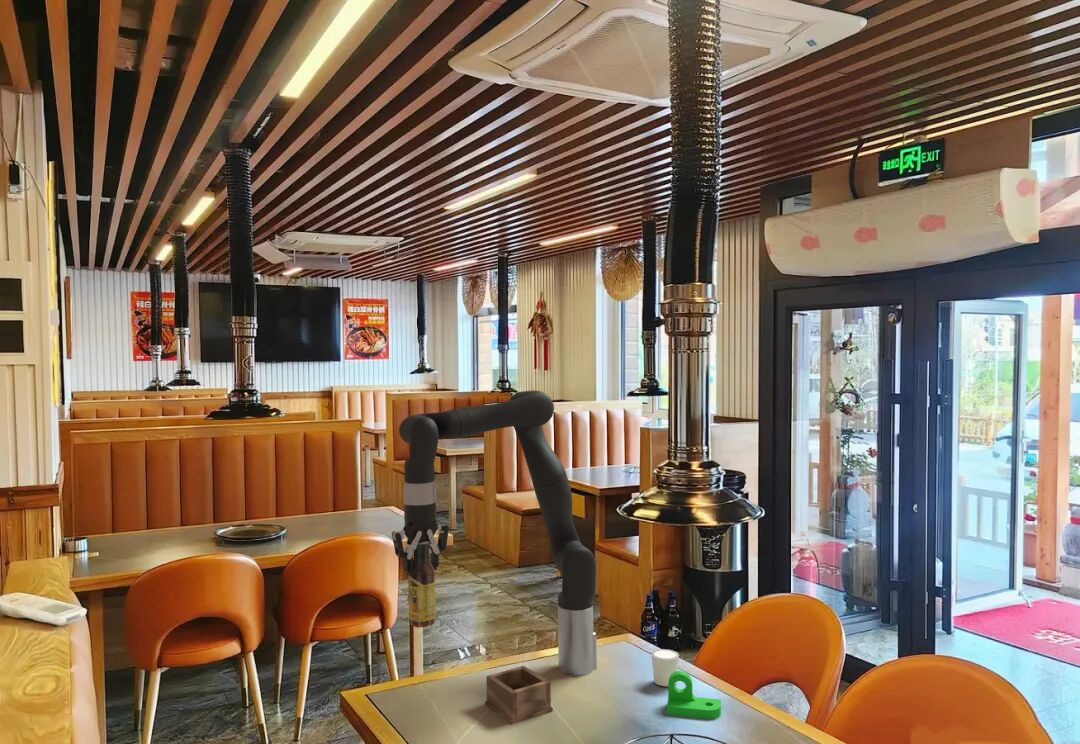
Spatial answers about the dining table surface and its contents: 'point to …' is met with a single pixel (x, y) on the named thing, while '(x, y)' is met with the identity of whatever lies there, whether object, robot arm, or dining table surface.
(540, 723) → the dining table surface
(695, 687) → the dining table surface
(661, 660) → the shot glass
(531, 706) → the bottle caddy
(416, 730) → the dining table surface
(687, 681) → the mechanical part
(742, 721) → the dining table surface
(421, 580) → the sauce bottle
